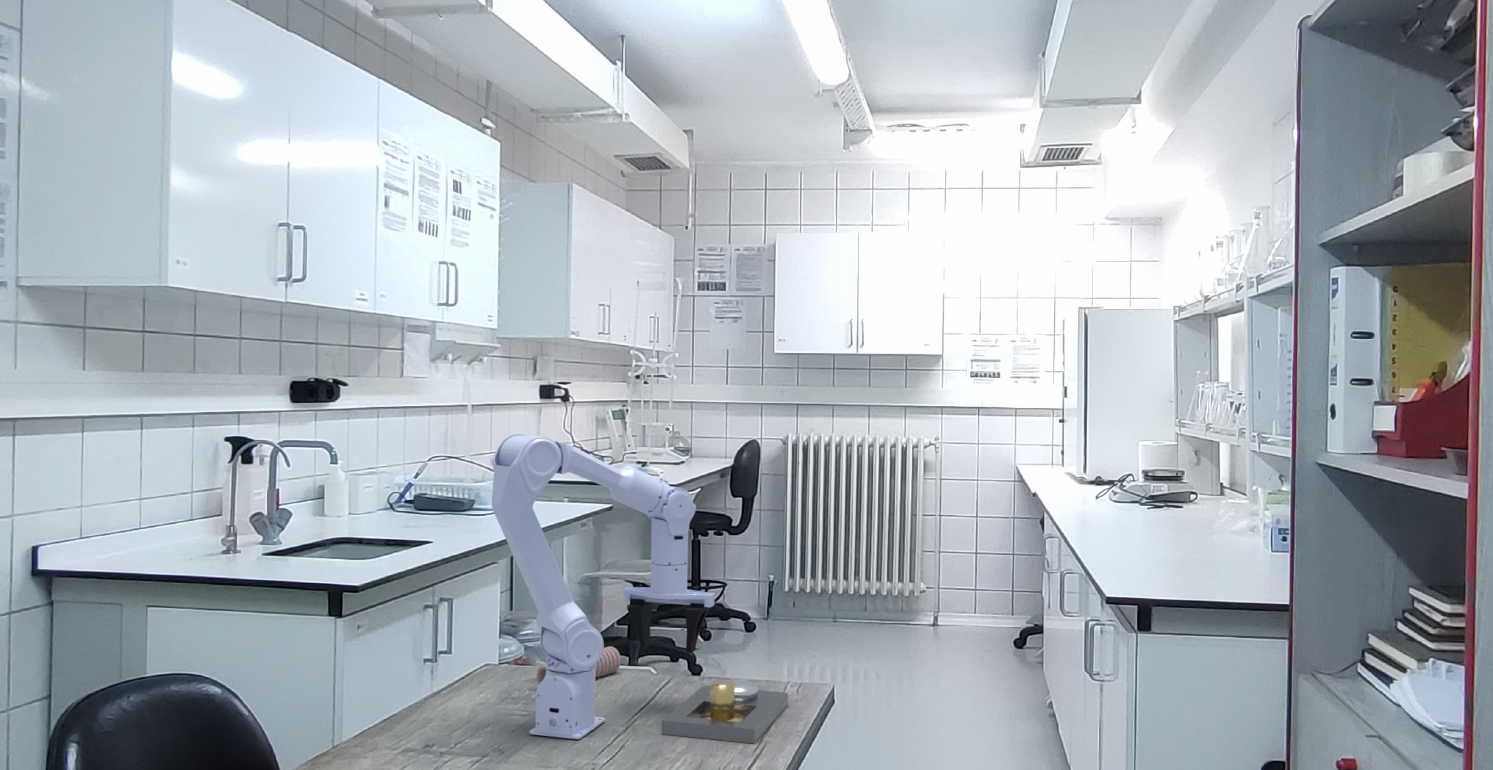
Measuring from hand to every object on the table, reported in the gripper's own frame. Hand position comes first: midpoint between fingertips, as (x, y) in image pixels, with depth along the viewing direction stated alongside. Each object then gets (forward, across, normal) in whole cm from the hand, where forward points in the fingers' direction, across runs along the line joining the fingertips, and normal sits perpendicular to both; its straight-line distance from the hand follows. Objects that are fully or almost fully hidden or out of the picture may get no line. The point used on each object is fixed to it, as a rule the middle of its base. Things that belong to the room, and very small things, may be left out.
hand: (667, 649), depth 172 cm
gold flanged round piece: (+9, -11, +4) cm, 15 cm away
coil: (+10, +20, -11) cm, 25 cm away
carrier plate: (+9, -10, +2) cm, 14 cm away
